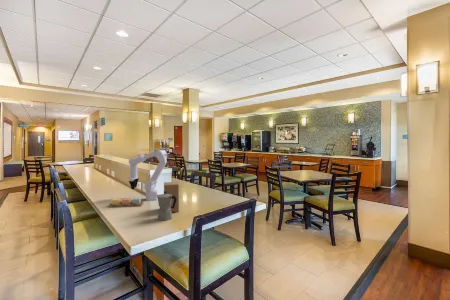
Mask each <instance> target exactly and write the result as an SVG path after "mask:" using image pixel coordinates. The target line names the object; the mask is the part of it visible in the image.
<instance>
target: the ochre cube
mask: <svg viewBox="0 0 450 300" xmlns="http://www.w3.org/2000/svg"><path fill="white" fill-rule="evenodd" d="M121 202H122V198H120V197H118V198H116V197H115V198H113V199H111V203H112V205H115V204H120V203H121Z"/></svg>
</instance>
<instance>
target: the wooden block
mask: <svg viewBox="0 0 450 300" xmlns="http://www.w3.org/2000/svg"><path fill="white" fill-rule="evenodd" d="M179 186H180V185H179V182H178V181H168V182H166V181H165V182H164V183H163V192H164V191H166V194H171V195H172V196H175V197H176V198H177V200H176V203H175V207H174V208H171V207H173V203H174V199H172V200H171V205H170V208H171V213H172V214H173V213H179V212H180V205H179V204H180V198H179V196H180V194H179V193H180V187H179Z"/></svg>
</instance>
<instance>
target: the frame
mask: <svg viewBox="0 0 450 300" xmlns="http://www.w3.org/2000/svg"><path fill="white" fill-rule="evenodd" d="M143 204H144V200H141V203H140V204H132V200H131V203H130V204H122V201H121V203H120V204H115V205H112V202H110V203H109V204H108V208H110V209H111V208H133V207H142V206H143Z"/></svg>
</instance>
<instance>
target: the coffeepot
mask: <svg viewBox="0 0 450 300" xmlns="http://www.w3.org/2000/svg"><path fill="white" fill-rule="evenodd" d="M156 196H157V197H158V199H157V202H158V207H159V210H158V216H157V220H158V221H162V222H165V221H169V220H172V219H173V213H171V208H174V207H175V203H176V200H177V198H176V197H175V196H172V195H171V194H166V191H164V190H163V193H162V194H158V195H156ZM172 199H174V203H173V207H171V208H170V205H171V200H172Z"/></svg>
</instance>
